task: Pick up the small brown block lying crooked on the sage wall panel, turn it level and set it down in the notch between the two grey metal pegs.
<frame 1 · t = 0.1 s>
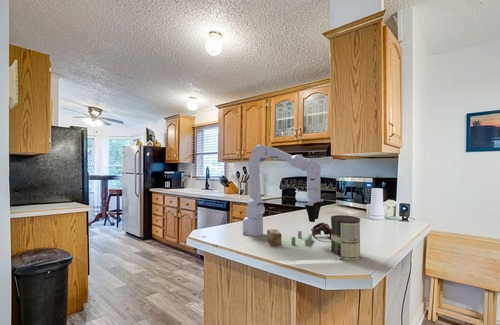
hand: (313, 220, 108), 10 cm above the countertop, fingers open, 7 cm apart
brown block: (273, 243, 103), point 1 cm above the countertop, touching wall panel
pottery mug: (323, 238, 117), on the countertop
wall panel: (288, 244, 106), on the countertop
coffee can: (345, 256, 92), on the countertop
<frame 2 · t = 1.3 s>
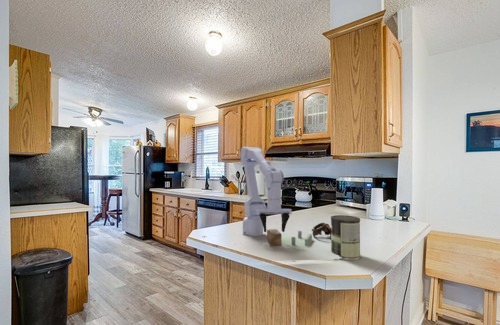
hand: (274, 231, 103), 6 cm above the countertop, fingers open, 7 cm apart
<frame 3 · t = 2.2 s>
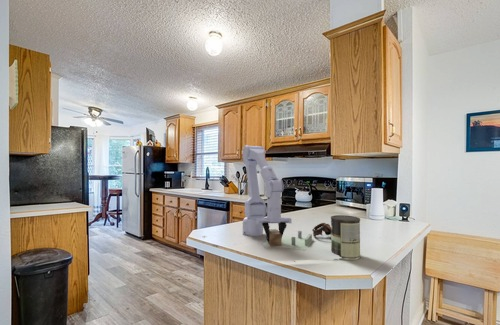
hand: (273, 240, 103), 2 cm above the countertop, fingers closed on brown block, 4 cm apart
brown block: (273, 243, 103), point 1 cm above the countertop, touching gripper, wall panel
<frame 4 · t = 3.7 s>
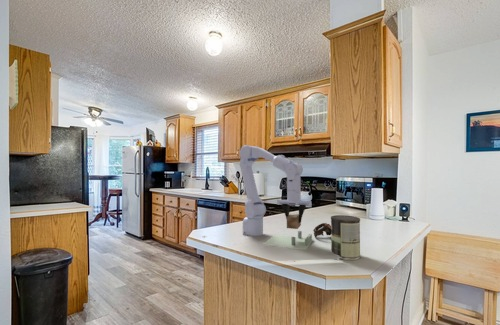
hand: (293, 222, 106), 9 cm above the countertop, fingers closed on brown block, 4 cm apart
brown block: (293, 226, 106), point 8 cm above the countertop, touching gripper
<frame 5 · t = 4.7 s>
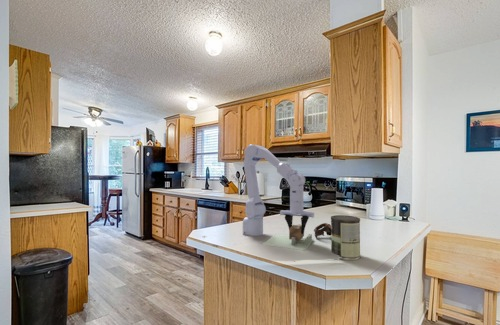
hand: (296, 232, 107), 5 cm above the countertop, fingers closed on brown block, 4 cm apart
brown block: (296, 237, 107), point 3 cm above the countertop, touching gripper
when the fingers open (4 cm above the countertop, at t = 5.2 s): brown block drops 1 cm, resting on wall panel.
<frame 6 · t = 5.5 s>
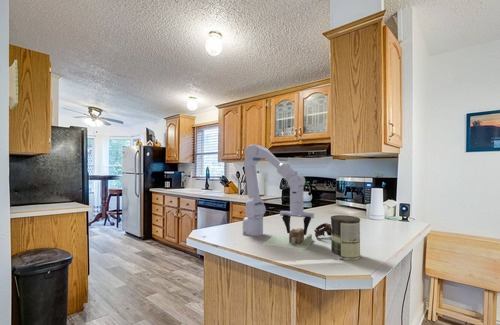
hand: (296, 233, 107), 4 cm above the countertop, fingers open, 7 cm apart
brown block: (296, 241, 106), point 1 cm above the countertop, touching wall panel
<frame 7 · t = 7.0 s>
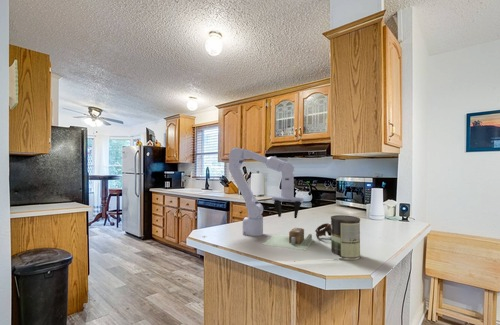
hand: (287, 217, 116), 10 cm above the countertop, fingers open, 7 cm apart
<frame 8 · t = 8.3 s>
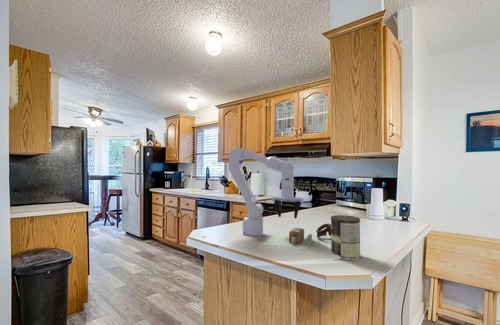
hand: (287, 217, 116), 10 cm above the countertop, fingers open, 7 cm apart
at the end: brown block 0.0 cm from the target spot, point 1.2 cm above the countertop; brown block tilted 0°; the gripper is holding nothing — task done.
